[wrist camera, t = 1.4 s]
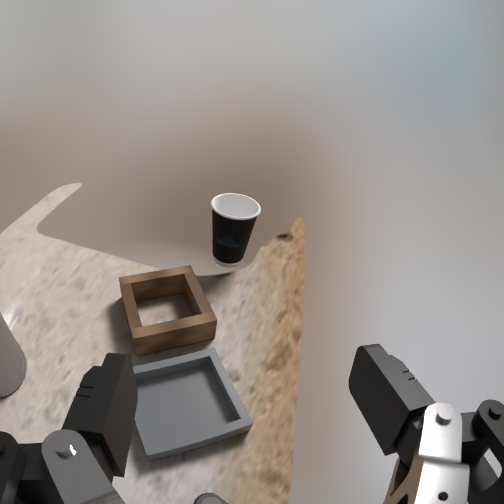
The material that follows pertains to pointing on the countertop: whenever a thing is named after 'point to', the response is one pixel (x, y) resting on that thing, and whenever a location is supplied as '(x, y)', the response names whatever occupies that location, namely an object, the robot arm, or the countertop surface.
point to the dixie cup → (232, 226)
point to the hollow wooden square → (171, 331)
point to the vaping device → (209, 499)
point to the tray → (186, 404)
